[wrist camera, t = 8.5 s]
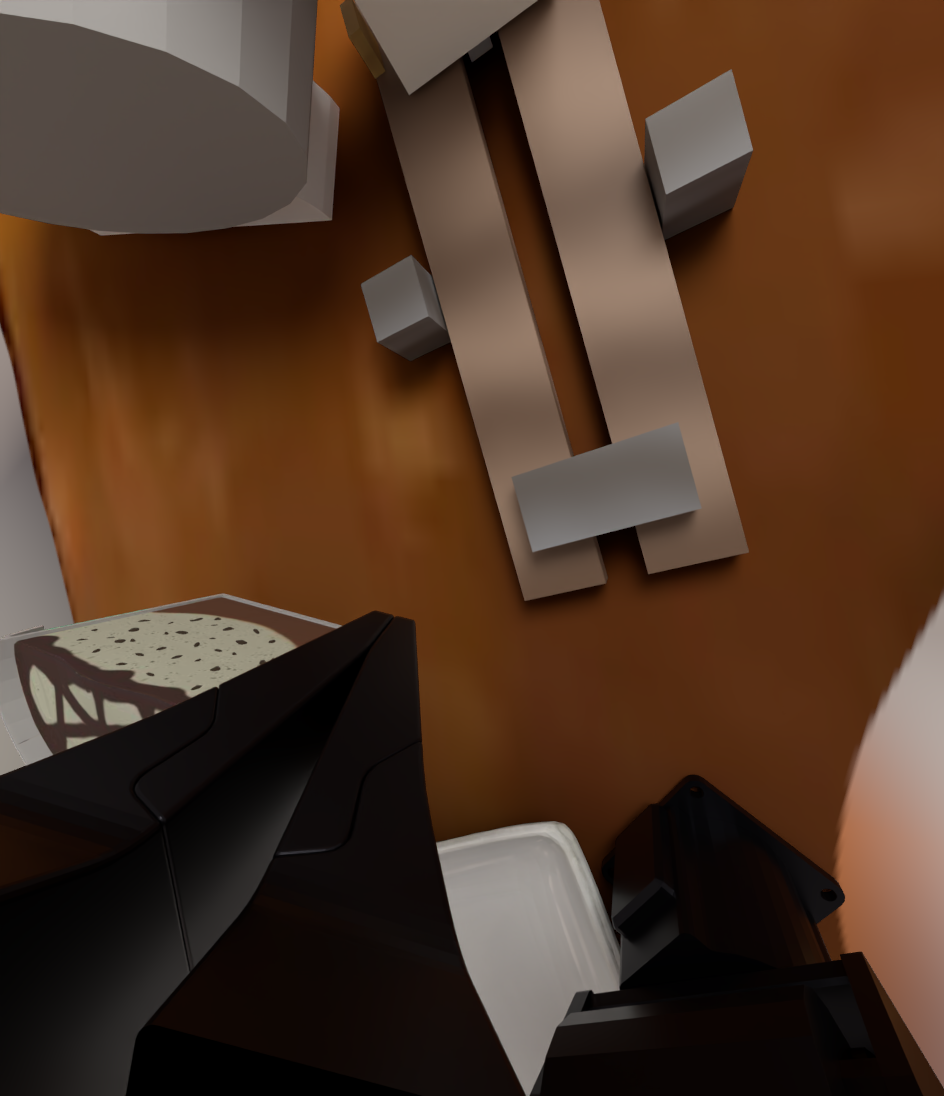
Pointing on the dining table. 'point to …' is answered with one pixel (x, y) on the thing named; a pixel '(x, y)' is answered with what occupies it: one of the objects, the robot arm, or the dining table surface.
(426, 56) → the block
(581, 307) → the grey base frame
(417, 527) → the dining table surface
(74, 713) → the food container
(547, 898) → the square plate
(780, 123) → the dining table surface
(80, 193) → the alarm clock
